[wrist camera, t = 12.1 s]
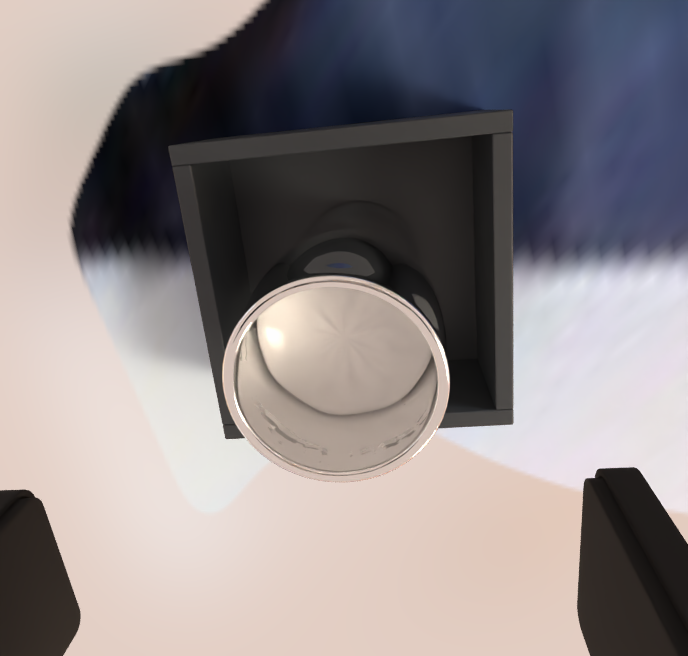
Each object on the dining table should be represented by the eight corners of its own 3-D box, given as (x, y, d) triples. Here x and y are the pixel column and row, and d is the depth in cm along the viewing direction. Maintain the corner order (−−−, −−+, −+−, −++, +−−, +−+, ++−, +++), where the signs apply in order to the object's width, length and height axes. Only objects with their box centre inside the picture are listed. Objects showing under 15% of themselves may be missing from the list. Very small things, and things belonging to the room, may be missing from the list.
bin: (214, 138, 30) (167, 145, 23) (485, 109, 28) (513, 109, 22) (255, 379, 34) (225, 439, 28) (489, 364, 33) (513, 425, 27)
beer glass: (300, 325, 32) (232, 492, 18) (286, 198, 30) (195, 276, 16) (427, 319, 32) (459, 486, 18) (423, 188, 29) (456, 260, 15)
